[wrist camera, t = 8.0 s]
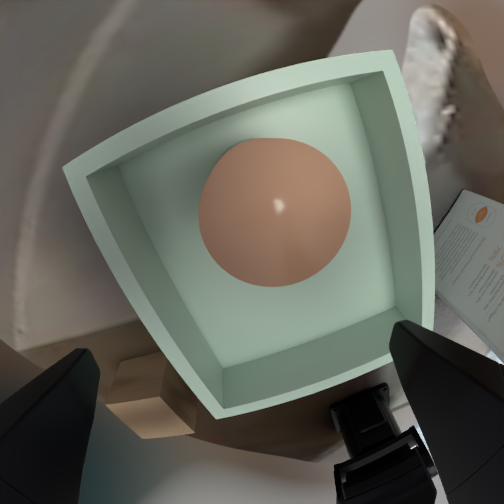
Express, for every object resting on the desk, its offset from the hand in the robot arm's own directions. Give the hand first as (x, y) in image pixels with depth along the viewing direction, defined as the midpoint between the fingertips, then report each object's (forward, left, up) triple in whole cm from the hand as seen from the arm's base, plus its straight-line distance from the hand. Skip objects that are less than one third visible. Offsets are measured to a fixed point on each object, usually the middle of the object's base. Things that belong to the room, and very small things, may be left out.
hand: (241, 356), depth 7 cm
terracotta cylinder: (+2, -2, -10) cm, 11 cm away
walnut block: (-10, +11, -11) cm, 18 cm away
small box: (-8, -16, -11) cm, 21 cm away
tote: (-2, -2, -11) cm, 11 cm away
